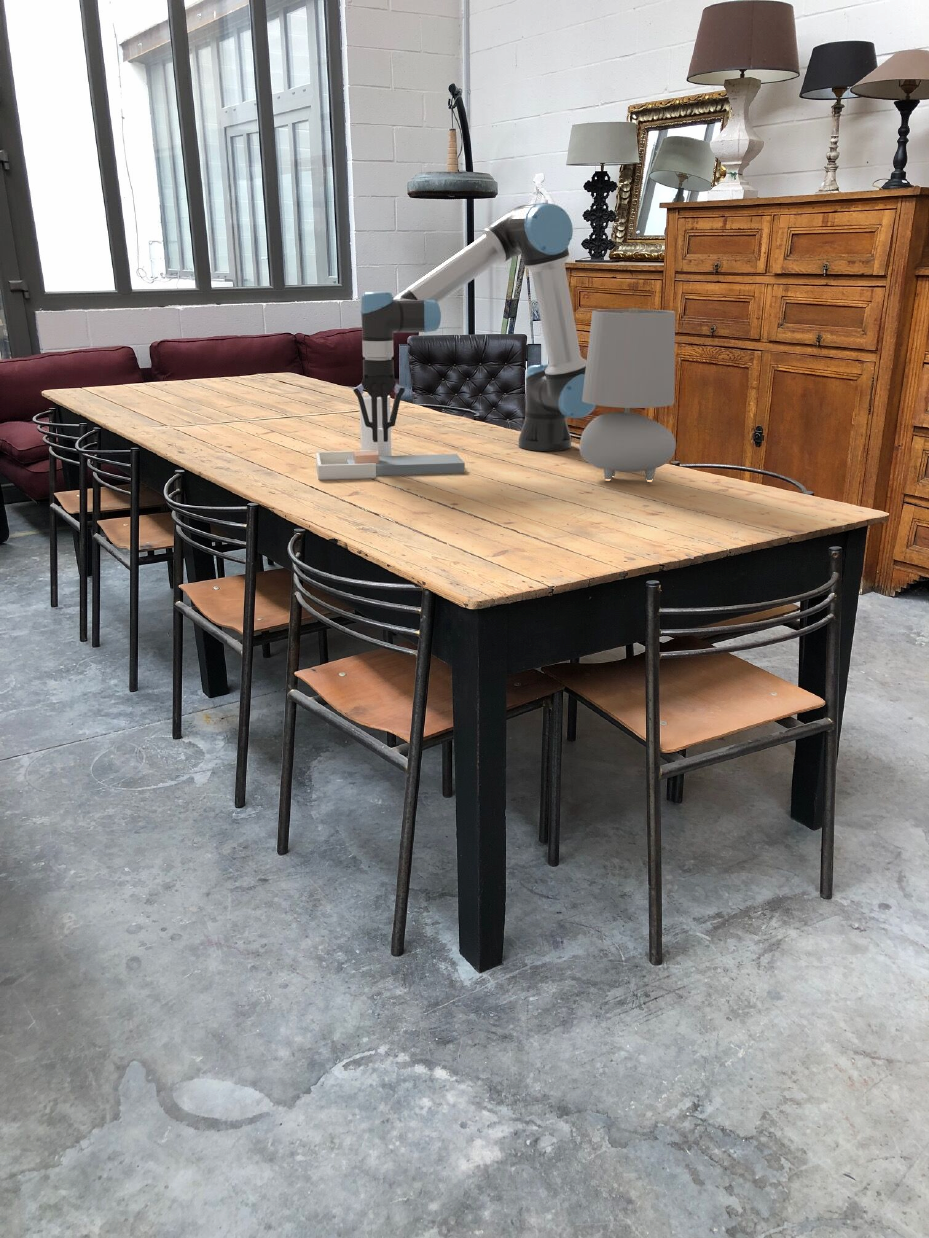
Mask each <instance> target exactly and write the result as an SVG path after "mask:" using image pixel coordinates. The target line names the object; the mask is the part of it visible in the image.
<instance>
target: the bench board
mask: <svg viewBox="0 0 929 1238" xmlns="http://www.w3.org/2000/svg"><path fill="white" fill-rule="evenodd" d="M465 465H466V464H465V462H464V461H463V459H462V458H461V456H459V455H458V454H457V453H446V454H445V453H444V454H443V453H442V454H412V455H409V454H408V455H404V454H403V455H392V456H379V463H376V477H377V476H378V477H379V476H403V475H404V476H407V475H435V474H436V475H440V474H463V473H464V474H465V470H466V469H465V467H466V466H465Z"/></svg>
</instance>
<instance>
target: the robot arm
mask: <svg viewBox="0 0 929 1238" xmlns="http://www.w3.org/2000/svg"><path fill="white" fill-rule="evenodd" d="M573 229H574V227H573V222H572V219H571V217H570V214H568V213H567V211H566V210H565V209H564V208H562V207H561V206H560V205H558V204H554V203H549V202H548V203H547V202H540V203H533V204H532V203H531V204H524V205H518V206H516V207H514V208H513V209H511V210H509V211H507V213H505V214H503V215H502V216H501V217H500V218H498V219H497V220H495V221H494V222H493V223H491V224H490V225H489V226H487V227H486V228H485V229H483V230H482V232H481V236H480V237H479V238H477V239H476V240H475V241H473V242H472V243H470V244H469V245H467V246H466V247H464V248H463V249H462V250H460V251H458V252H457V253H456V254H455V255H453V256H451V257H450V258H449V259H447V260H445V261H444V262H443V263H442V264H440V265H438V266H437V267H436V268H434V269H433V270H432V271H430V272H428V273H427V274H426V275H425V276H423V277H421V278H420V279H419V280H417V281H416V282H414V283H413V284H411V285H409V287H407V288H406V289H404V290H403V291H402V292H400V293H398V294H397V295H395V296H393V293H392V292H390V291H364V293H362V294H361V299H360V300H361V302H360V315H361V334H362V335H361V336H362V337H361V338H362V342H361V344H362V357H363V360H362V369H363V370H362V380H361V383H360V384H359V385H357V386H356V387H355V386H354V387H353V388H352V391H353V393H354V394H355V396H356V397H357V400H358V404H359V409H360V408H361V412H362V415H363V419H364V423H365V425H366V427H370V428H372V439H373V441H374V442H377V453H378V454H379V456H384V442H387V441H388V428H390V427H391V428H392V427H395V426H396V422H397V416H398V413H399V407H400V404H401V403H400V402H401V398H402V396H403V395H404V394H405V391H406V390H405V388H404V386H401V385H399V384H398V383H397V380H396V378H395V368H394V367H395V365H394V364H395V361H394V360H393V359H392V358H393V357H394V353H395V352H394V333H397V334H398V333H428V332H429V333H430V332H436V331H438V329H439V328H440V326H441V322H442V321H441V319H442V312H441V307H440V305H439V304H440V303H441V302H443V301H444V300H445V299H447V298H448V297H449V296H452V295H453V294H454V293H456V292H457V291H459V290H460V289H461V288H463V287H464V286H466V285H467V284H469V283H471V281H472V280H474V279H476V278H477V277H478V276H480V275H481V274H483V273H484V272H486V271H487V270H488V269H490V268H491V267H493V266H494V265H496V264H497V263H498V264H504V263H506V262H507V261H509V260H511V259H512V258H514V257H517V256H520V255H521V256H522V261H523V266H524V268H526V269H528V271H530V272H531V277H532V282H533V286H534V287H533V288H534V293H535V297H536V303H537V308H538V312H539V319H540V323H541V327H542V333H543V340H544V344H545V345H544V346H545V349H546V353H547V360H548V364H533V365H529V366H528V367H527V370H526V375H525V413H524V414H525V417H524V418H525V419H524V422H523V425H522V427H521V431H520V434H519V437H518V444H517V445H518V447H519V448H520V449H523V450H528V451H538V452H555V451H556V452H559V451H564V450H570V449H571V448H572V437H571V433H570V429H569V426H568V422H567V418H569V419H570V418H571V419H573V418H574V419H580V418H584V417H587V416H588V415H590V414H591V413H592V412H593V411H594V410H595V408H596V407H597V405H592V404H588V403H585V402H583V401H582V396H583V387H584V379H585V370H586V362H587V359H585V358H583V357H582V356H581V350H580V344H579V339H578V333H577V327H576V321H575V315H574V310H573V304H572V299H571V293H570V287H569V281H568V276H567V270H566V265H565V264H566V261H567V260H568V259H569V257H570V253H569V245H570V243H571V240H572V238H573V233H574V231H573ZM364 390H365V391H366V393H367V395H370V396H371V410H372V422H370V421H369V418H368V414H367V410H366V407H365V403H364V399H363V396H362V395H364ZM393 390H394V393H395V395H394V398H393V403H392V409H391V416H390V421H389V422H388V410H387V396H390V394H391V393H392V391H393ZM377 397H381V400H382V428H377V427H378V424H377Z"/></svg>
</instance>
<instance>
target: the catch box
mask: <svg viewBox="0 0 929 1238" xmlns="http://www.w3.org/2000/svg"><path fill="white" fill-rule="evenodd" d="M353 451H354V450H338V451H336V450H334V451H331V450H330V451H315V464H316V465H315V466H316V471H317V479H318V480H319V481H326V480H327V481H329V480H361V479H365V480H367V479H377V474H376V463H371V464H347V460H348V459H353ZM366 451H370V450H366Z"/></svg>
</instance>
